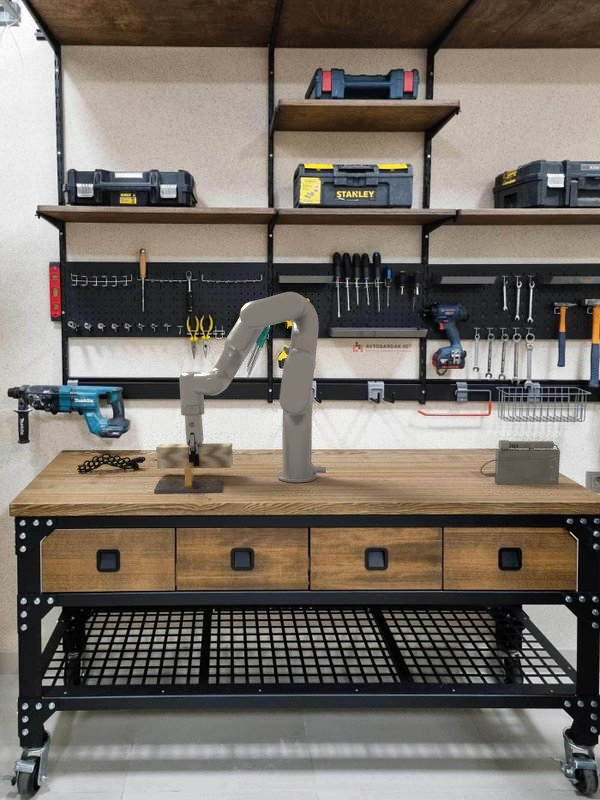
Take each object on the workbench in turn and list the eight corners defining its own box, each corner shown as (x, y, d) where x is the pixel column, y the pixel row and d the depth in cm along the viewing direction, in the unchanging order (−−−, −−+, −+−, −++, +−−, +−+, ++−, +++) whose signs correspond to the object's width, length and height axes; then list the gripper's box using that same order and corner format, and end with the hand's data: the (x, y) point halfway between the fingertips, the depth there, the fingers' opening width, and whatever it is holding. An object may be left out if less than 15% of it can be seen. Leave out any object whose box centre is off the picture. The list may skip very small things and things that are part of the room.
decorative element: (77, 475, 226) (76, 457, 226) (77, 471, 231) (77, 454, 230) (146, 470, 232) (145, 454, 232) (145, 467, 237) (144, 450, 236)
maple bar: (232, 463, 225) (232, 443, 224) (229, 467, 220) (229, 446, 219) (162, 464, 227) (160, 444, 226) (157, 468, 222) (156, 447, 221)
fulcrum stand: (222, 481, 217) (222, 460, 216) (221, 492, 205) (220, 469, 204) (159, 482, 216) (159, 461, 215) (154, 493, 204) (153, 470, 203)
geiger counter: (556, 438, 217) (478, 438, 217) (564, 442, 211) (484, 442, 211) (554, 481, 219) (477, 481, 219) (562, 486, 212) (482, 486, 212)
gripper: (202, 413, 213) (204, 469, 215) (206, 405, 230) (208, 457, 232) (178, 414, 212) (180, 470, 215) (183, 406, 229) (186, 458, 232)
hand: (195, 463), depth 224 cm, fingers closed on maple bar, 6 cm apart
